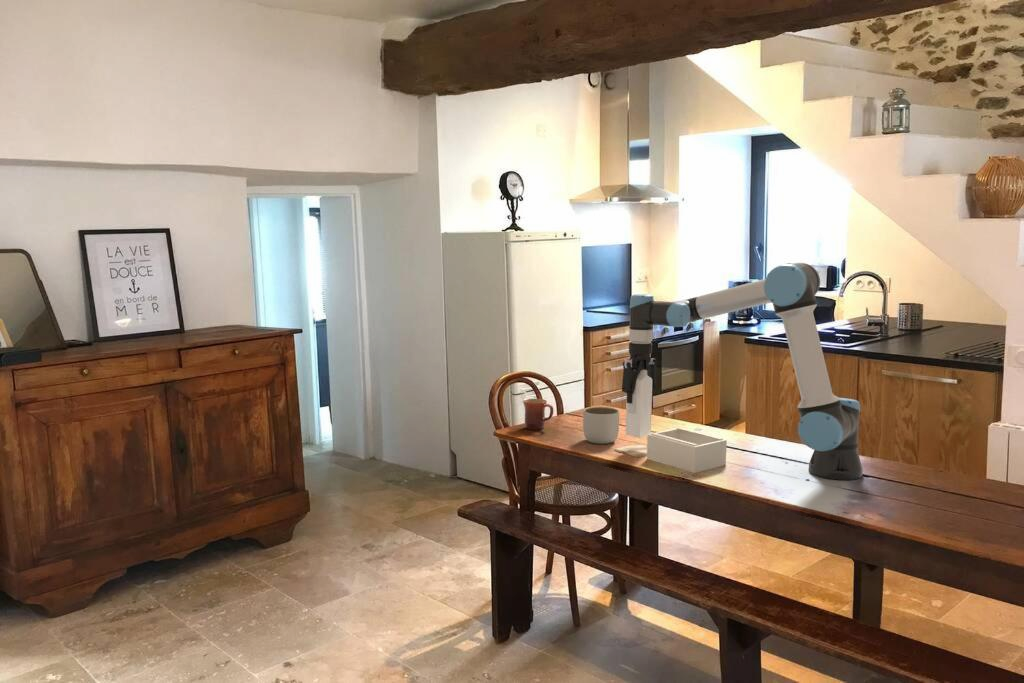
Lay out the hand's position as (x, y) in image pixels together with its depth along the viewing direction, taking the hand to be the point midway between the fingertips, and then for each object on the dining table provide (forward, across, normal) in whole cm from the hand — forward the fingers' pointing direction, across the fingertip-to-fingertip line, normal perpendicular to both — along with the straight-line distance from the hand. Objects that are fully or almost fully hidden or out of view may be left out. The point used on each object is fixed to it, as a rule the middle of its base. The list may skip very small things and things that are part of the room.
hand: (638, 411), depth 272 cm
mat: (+13, 0, 0) cm, 13 cm away
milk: (+8, 0, 0) cm, 8 cm away
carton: (+13, -3, +18) cm, 23 cm away
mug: (+14, +7, -44) cm, 47 cm away
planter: (+14, +1, -17) cm, 22 cm away
